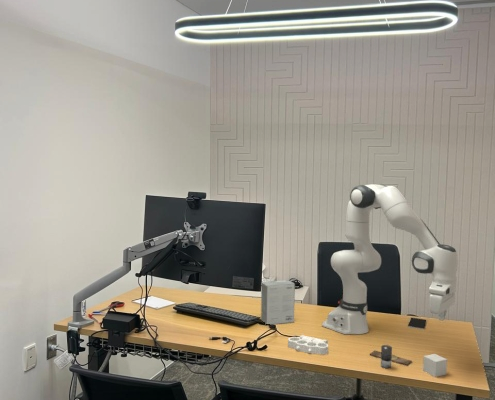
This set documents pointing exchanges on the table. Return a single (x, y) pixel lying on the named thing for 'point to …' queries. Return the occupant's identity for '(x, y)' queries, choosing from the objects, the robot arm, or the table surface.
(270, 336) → the table surface
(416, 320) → the smartphone
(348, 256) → the robot arm
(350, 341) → the table surface
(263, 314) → the hard drive box
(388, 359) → the bottle with black cap
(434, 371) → the white cube
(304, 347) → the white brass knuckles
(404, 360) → the strip
